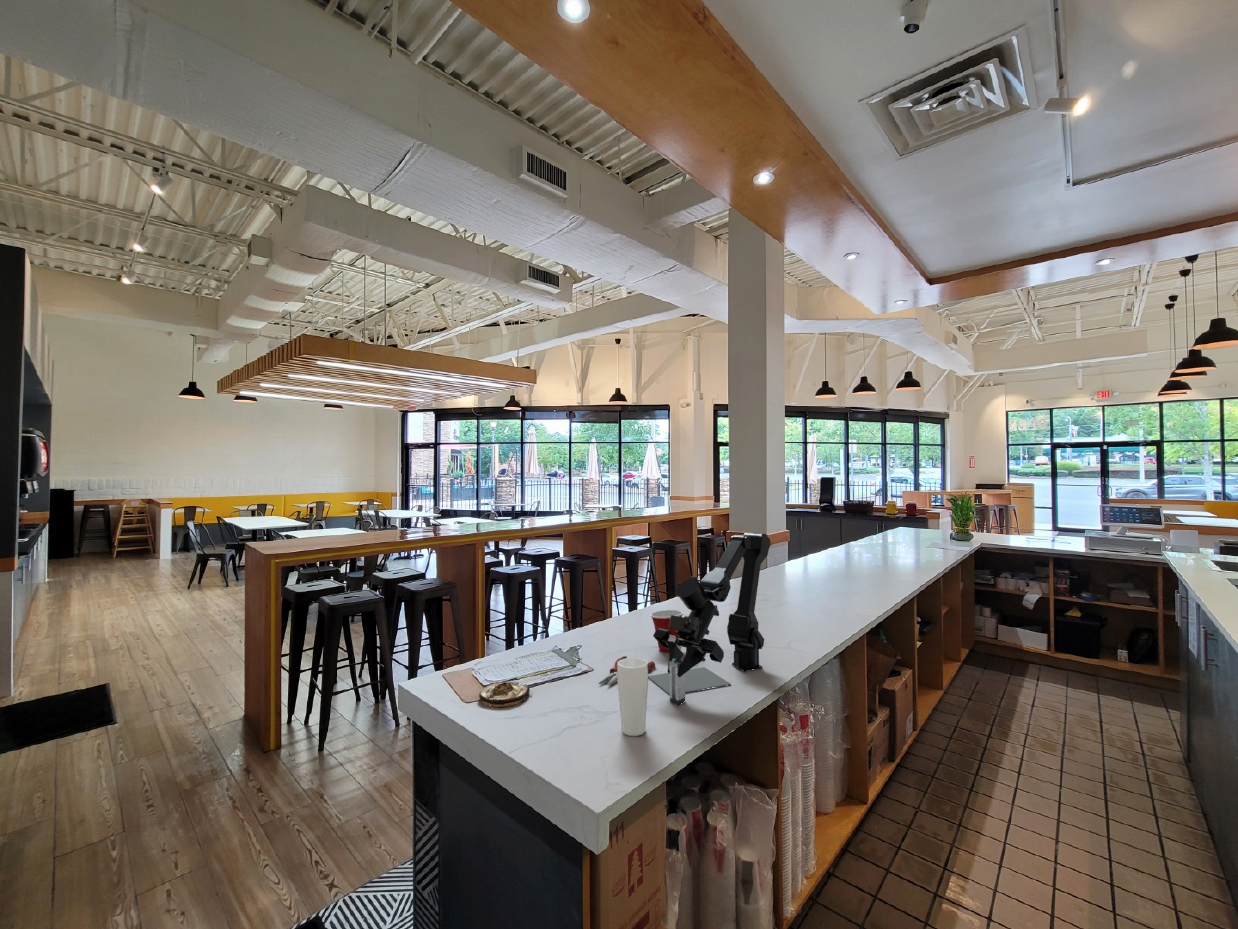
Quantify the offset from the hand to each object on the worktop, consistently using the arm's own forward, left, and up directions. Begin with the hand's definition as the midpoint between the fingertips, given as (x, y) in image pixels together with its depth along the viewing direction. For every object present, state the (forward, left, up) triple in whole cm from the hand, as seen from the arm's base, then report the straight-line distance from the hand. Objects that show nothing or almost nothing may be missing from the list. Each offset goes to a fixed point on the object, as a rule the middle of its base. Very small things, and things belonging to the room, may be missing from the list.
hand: (673, 674), depth 133 cm
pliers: (+4, -25, -8) cm, 27 cm away
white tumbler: (+15, +9, -7) cm, 19 cm away
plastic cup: (-17, -39, -7) cm, 43 cm away
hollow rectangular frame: (-1, -1, -7) cm, 7 cm away
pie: (+38, -21, -8) cm, 44 cm away
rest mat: (-10, -12, -7) cm, 17 cm away
